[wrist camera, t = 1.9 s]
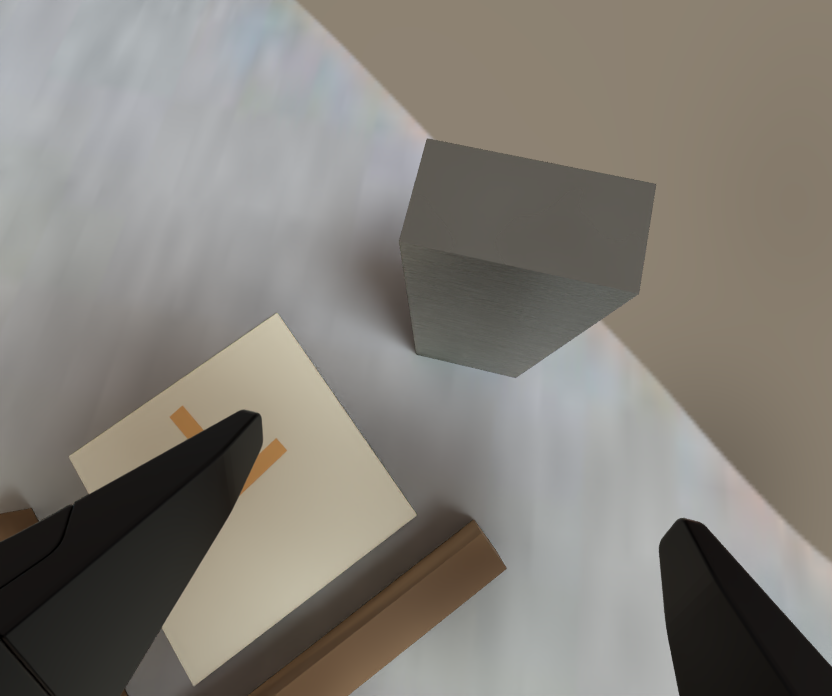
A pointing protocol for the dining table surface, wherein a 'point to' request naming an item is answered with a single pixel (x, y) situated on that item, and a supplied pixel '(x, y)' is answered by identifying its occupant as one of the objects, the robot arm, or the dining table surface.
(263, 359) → the pad
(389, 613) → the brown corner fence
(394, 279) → the dining table surface
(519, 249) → the upright grey pillar block
